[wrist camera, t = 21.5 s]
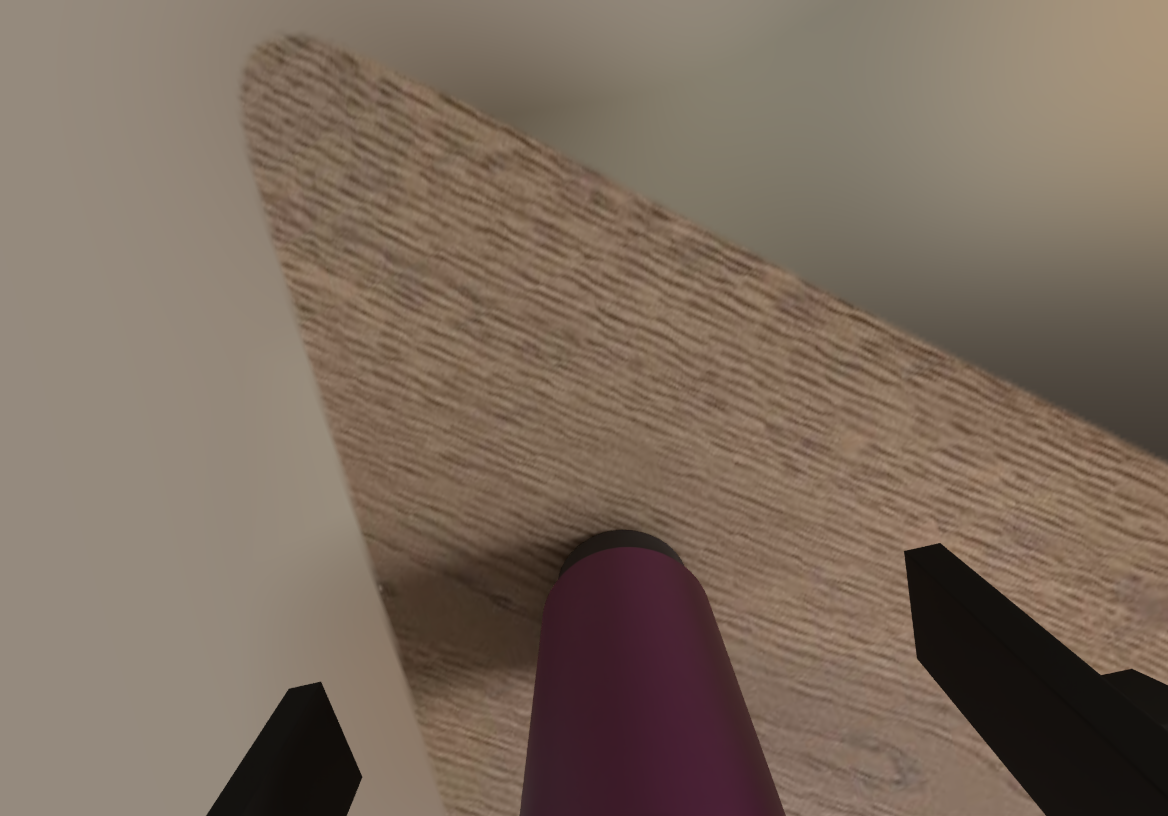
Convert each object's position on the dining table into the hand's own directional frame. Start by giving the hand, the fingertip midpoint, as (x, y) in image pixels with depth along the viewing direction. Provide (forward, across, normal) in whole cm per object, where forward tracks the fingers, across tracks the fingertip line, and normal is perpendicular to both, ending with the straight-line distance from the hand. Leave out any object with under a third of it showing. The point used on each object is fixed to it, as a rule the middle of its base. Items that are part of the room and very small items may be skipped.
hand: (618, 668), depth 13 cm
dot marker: (+4, 0, -1) cm, 4 cm away
